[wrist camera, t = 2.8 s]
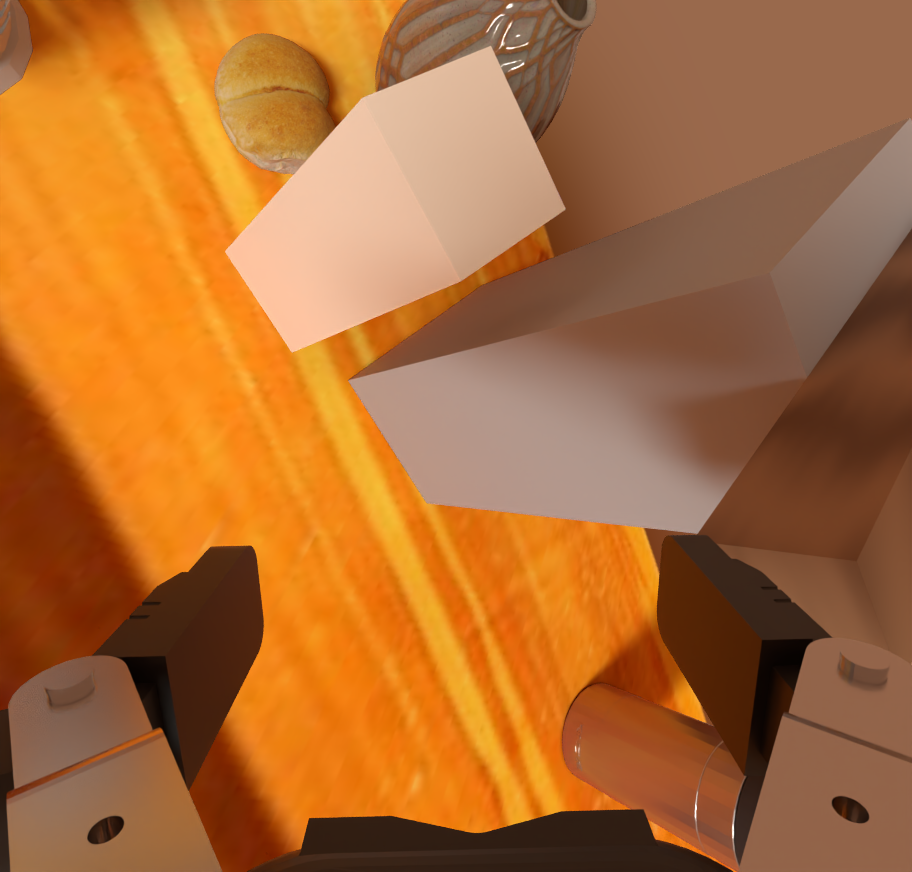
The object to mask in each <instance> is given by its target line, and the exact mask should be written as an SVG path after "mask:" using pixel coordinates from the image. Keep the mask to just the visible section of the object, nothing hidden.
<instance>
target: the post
mask: <svg viewBox="0 0 912 872" xmlns="http://www.w3.org/2000/svg"><path fill="white" fill-rule="evenodd" d="M564 210H566V209H565V206H564V204H563V202H562V200H561V198H560V196H559V193H558V191H557V189H556V187H555V185H554V182H553V180H552V178H551V176H550V174H549V171H548V169H547V167H546V165H545V163H544V161H543V158H542V156H541V154H540V152H539V150H538V147H537V145H536V143H535V141H534V139H533V136H532V134H531V132H530V130H529V128H528V126H527V123H526V121H525V119H524V117H523V115H522V112H521V110H520V108H519V106H518V104H517V102H516V99H515V97H514V95H513V93H512V91H511V88H510V86H509V84H508V82H507V80H506V77H505V75H504V73H503V71H502V69H501V67H500V64H499V62H498V60H497V58H496V56H495V53H494V51H493V49H492V47H491V46H489V47H487V48H484V49H482V50H479V51H477V52H474V53H472V54H469V55H467V56H464V57H462V58H459V59H457V60H455V61H452V62H450V63H447V64H445V65H442V66H440V67H437V68H435V69H432V70H430V71H427V72H425V73H423V74H420V75H418V76H415V77H413V78H410V79H408V80H405V81H403V82H400V83H398V84H395V85H393V86H390V87H388V88H386V89H383V90H381V91H378V92H376V93H373V94H371V95H368V96H366V97H363V98H362V99H361V100H360V101H359V102H358V103H357V105H356V106H355V107H354V108H353V109H352V110H351V111H350V112H349V114H348V115H347V116H346V117H345V118H344V119H343V120H342V121H341V122H340V124H339V125H338V126H337V127H336V128H335V129H334V130H333V131H332V132H331V134H330V135H329V136H328V137H327V138H326V139H325V140H324V141H323V143H322V144H321V145H320V146H319V147H318V148H317V149H316V150H315V151H314V153H313V154H312V155H311V156H310V157H309V158H308V159H307V160H306V162H305V163H304V164H303V165H302V166H301V167H300V168H299V169H298V170H297V172H296V173H295V174H294V175H293V176H292V177H291V178H290V179H289V180H288V182H287V183H286V184H285V185H284V186H283V187H282V188H281V189H280V191H279V192H278V193H277V194H276V195H275V196H274V197H273V198H272V199H271V201H270V202H269V203H268V204H267V205H266V206H265V207H264V208H263V209H262V211H261V212H260V213H259V214H258V215H257V216H256V217H255V218H254V220H253V221H252V222H251V223H250V224H249V225H248V226H247V227H246V228H245V230H244V231H243V232H242V233H241V234H240V235H239V236H238V237H237V239H236V240H235V241H234V242H233V243H232V244H231V245H230V246H229V247H228V249H227V250H226V251H225V252H226V254H227V255H228V257H229V258H230V260H231V261H232V263H233V264H234V266H235V267H236V269H237V270H238V272H239V273H240V275H241V276H242V278H243V279H244V281H245V282H246V284H247V285H248V287H249V288H250V290H251V291H252V293H253V294H254V296H255V297H256V299H257V300H258V302H259V303H260V305H261V307H262V308H263V310H264V311H265V313H266V314H267V316H268V317H269V319H270V320H271V322H272V323H273V325H274V326H275V328H276V329H277V331H278V332H279V334H280V335H281V337H282V338H283V340H284V341H285V343H286V344H287V346H288V347H289V349H290V350H291V352H294V351H297V350H299V349H301V348H304V347H306V346H309V345H311V344H313V343H316V342H318V341H320V340H323V339H325V338H328V337H330V336H332V335H335V334H337V333H339V332H342V331H344V330H347V329H349V328H351V327H354V326H356V325H358V324H361V323H363V322H365V321H368V320H370V319H373V318H375V317H377V316H380V315H382V314H384V313H387V312H389V311H392V310H394V309H396V308H399V307H401V306H403V305H406V304H408V303H411V302H413V301H415V300H418V299H420V298H422V297H425V296H427V295H429V294H432V293H434V292H437V291H439V290H441V289H444V288H446V287H448V286H451V285H453V284H456V283H458V282H460V281H462V280H464V279H465V278H466V277H468V276H469V275H471V274H472V273H474V272H475V271H477V270H478V269H480V268H481V267H483V266H484V265H485V264H487V263H488V262H490V261H491V260H493V259H494V258H496V257H497V256H499V255H500V254H501V253H503V252H504V251H506V250H507V249H509V248H510V247H512V246H513V245H515V244H516V243H517V242H519V241H520V240H522V239H523V238H525V237H526V236H528V235H529V234H531V233H532V232H534V231H535V230H536V229H538V228H539V227H541V226H542V225H544V224H545V223H546V222H548V221H550V220H551V219H552V218H554V217H555V216H557V215H558V214H560V213H561V212H563V211H564Z"/></svg>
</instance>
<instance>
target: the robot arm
mask: <svg viewBox="0 0 912 872" xmlns="http://www.w3.org/2000/svg"><path fill="white" fill-rule="evenodd" d="M657 620H658V626H659V630H660V634H661V637H662V639H663V641H664V643H665V645H666V646H667V648H668V650H669V651H670V653H671V655H672V656H673V658H674V660H675V661H676V663H677V665H678V666H679V668H680V670H681V671H682V673H683V675H684V676H685V678H686V680H687V681H688V683H689V685H690V686H691V688H692V690H693V691H694V693H695V695H696V696H697V698H698V700H699V701H700V703H701V705H702V706H703V708H704V710H705V712H706V713H707V715H708V717H709V718H710V720H711V721H712V723H713V725H714V726H711V725H709V724H707V723H704V722H702V721H699V720H696V719H694V718H691V717H689V716H686V715H684V714H681V713H679V712H676V711H674V710H671V709H669V708H666V707H664V706H661V705H659V704H656V703H654V702H651V701H648V700H646V699H643V698H641V697H639V696H636V695H634V694H631V693H629V692H626V691H624V690H621V689H618V688H616V687H613V686H611V685H608V684H605V683H598V684H593V685H591V686H589V687H588V688H586V689H585V690H584V691H583V692H582V693H580V695H579V696H578V697H577V698H576V700H575V701H574V703H573V705H572V706H571V708H570V710H569V713H568V715H567V718H566V721H565V725H564V729H563V738H562V748H563V755H564V760H565V762H566V764H567V767H568V769H569V770H570V771H571V773H572V774H573V775H575V776H576V777H578V778H579V779H581V780H583V781H584V782H586V783H588V784H589V785H591V786H593V787H594V788H596V789H598V790H599V791H601V792H603V793H605V794H606V795H608V796H609V797H611V798H613V799H614V800H616V801H618V802H619V803H621V804H623V805H625V806H626V807H628V808H630V809H631V810H596V811H562V812H558V813H554V814H551V815H547V816H543V817H540V818H536V819H532V820H529V821H525V822H521V823H518V824H514V825H510V826H507V827H503V828H500V829H496V830H492V831H489V832H484V833H469V832H464V831H460V830H455V829H450V828H446V827H441V826H436V825H431V824H427V823H422V822H417V821H413V820H408V819H403V818H398V817H394V816H375V817H339V818H309V821H308V825H307V829H306V832H305V836H304V840H303V844H302V848H301V849H300V850H296V851H293V852H289V853H287V854H284V855H281V856H279V857H276V858H274V859H271V860H269V861H267V862H265V863H263V864H261V865H259V866H257V867H255V868H253V869H251V870H249V871H247V872H733V871H731V870H730V869H728V868H726V867H725V866H723V865H721V864H719V863H717V862H715V861H713V860H712V859H710V858H708V857H705V856H703V855H701V854H698V853H696V852H694V851H691V850H689V849H687V848H684V847H680V846H677V845H674V844H671V843H668V842H664V841H660V840H655V838H654V836H653V833H652V830H651V828H650V825H649V822H648V820H650V821H652V822H653V823H655V824H657V825H658V826H660V827H662V828H664V829H665V830H667V831H669V832H670V833H672V834H674V835H675V836H677V837H679V838H681V839H682V840H684V841H686V842H687V843H689V844H691V845H692V846H694V847H696V848H697V849H699V850H701V851H703V852H704V853H706V854H708V855H710V856H711V857H713V858H715V859H716V860H718V861H720V862H722V863H723V864H725V865H727V866H728V867H730V868H732V869H733V870H735V871H737V872H912V665H911V664H910V663H908V662H907V661H905V660H904V659H902V658H901V657H899V656H897V655H895V654H893V653H891V652H889V651H887V650H885V649H882V648H880V647H877V646H875V645H872V644H868V643H865V642H861V641H857V640H852V639H845V638H833V637H831V636H830V635H829V634H828V633H827V632H826V631H825V630H824V629H823V628H822V627H821V626H820V625H819V624H817V623H816V622H815V621H814V620H813V619H812V618H811V617H810V616H809V615H808V614H807V613H806V612H805V611H803V610H802V609H801V608H800V607H799V606H798V605H797V604H796V603H795V602H791V598H789V597H788V596H787V595H786V594H785V593H784V592H783V591H782V590H781V589H780V590H778V586H777V585H775V584H774V583H773V582H772V581H771V580H770V579H769V578H768V577H767V576H766V575H765V574H764V573H763V572H761V571H760V570H758V569H756V568H754V567H752V566H750V565H748V564H746V563H744V562H742V561H740V560H738V559H731V558H730V557H729V556H728V555H727V554H726V553H725V552H724V551H723V550H722V549H721V548H720V547H719V546H718V545H717V544H716V543H715V542H714V541H713V540H712V539H711V538H710V537H709V536H707V535H676V536H674V535H673V536H666V537H665V539H664V541H663V544H662V550H661V563H660V575H659V588H658V601H657ZM263 627H264V621H263V610H262V601H261V592H260V584H259V575H258V566H257V558H256V553H255V550H254V549H253V547H252V546H217V547H210V548H209V549H208V550H207V551H206V552H205V553H204V555H203V556H202V557H201V558H200V559H199V560H198V561H197V563H196V564H195V565H194V566H193V567H192V568H191V569H190V570H189V572H181V573H179V574H178V575H176V576H174V577H172V578H171V579H169V580H167V581H166V582H164V583H162V584H160V585H159V586H157V587H156V588H155V589H154V590H153V592H152V593H151V594H150V595H149V596H148V597H147V598H146V599H145V600H144V601H143V602H142V606H138V607H137V609H136V610H135V611H134V612H133V613H132V614H131V615H130V618H129V619H126V620H125V621H124V622H123V623H122V624H121V626H120V627H119V628H118V629H117V630H116V631H115V632H114V633H113V634H112V635H111V636H110V637H109V638H108V639H107V640H106V641H105V643H104V644H103V645H102V646H101V647H100V648H99V649H98V650H97V651H96V652H95V653H94V654H93V655H92V656H89V657H83V658H78V659H74V660H71V661H67V662H64V663H61V664H59V665H56V666H54V667H52V668H49V669H47V670H45V671H43V672H42V673H40V674H38V675H36V676H35V677H33V678H32V679H30V680H29V681H27V682H26V683H25V684H24V685H22V686H21V687H20V688H19V689H18V690H17V691H16V692H15V694H14V695H13V697H12V698H11V700H10V703H9V708H8V709H5V710H1V711H0V872H222V870H221V868H220V865H219V863H218V861H217V858H216V856H215V854H214V851H213V849H212V846H211V844H210V842H209V839H208V837H207V834H206V832H205V830H204V827H203V825H202V823H201V820H200V818H199V815H198V813H197V811H196V808H195V806H194V804H193V801H192V799H191V796H190V794H189V792H188V791H189V789H190V787H191V785H192V783H193V782H194V780H195V778H196V776H197V774H198V772H199V770H200V768H201V766H202V764H203V762H204V760H205V758H206V756H207V754H208V752H209V750H210V748H211V746H212V744H213V742H214V740H215V738H216V736H217V734H218V732H219V730H220V728H221V726H222V724H223V722H224V720H225V718H226V716H227V714H228V712H229V710H230V708H231V706H232V704H233V702H234V700H235V698H236V696H237V694H238V692H239V690H240V688H241V686H242V684H243V682H244V680H245V678H246V676H247V674H248V672H249V670H250V668H251V666H252V664H253V662H254V660H255V658H256V656H257V654H258V652H259V650H260V647H261V643H262V638H263ZM647 819H648V820H647Z"/></svg>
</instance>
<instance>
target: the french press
mask: <svg viewBox="0 0 912 872" xmlns="http://www.w3.org/2000/svg"><path fill="white" fill-rule="evenodd" d="M32 51H33V49H32V42H31V35H30V29H29V22H28V16H27V15H26V13H25V11H24V9H23V8H22V6H21V4H20V2H19V1H18V0H0V94H2V93H3V92H4V91H6V90H7V89H9V88H10V87H11V86H13V85H14V84H15V83H17V82H18V81H19V80H21V79H22V77H23V75H24V72H25V69H26V67H27V64H28V61H29V59H30V56H31V54H32Z"/></svg>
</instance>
